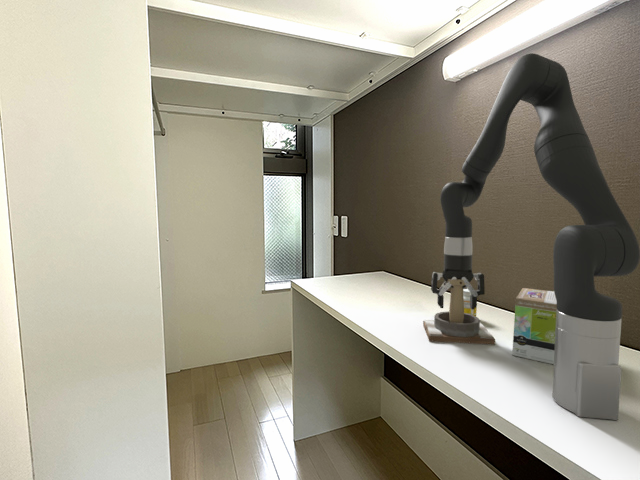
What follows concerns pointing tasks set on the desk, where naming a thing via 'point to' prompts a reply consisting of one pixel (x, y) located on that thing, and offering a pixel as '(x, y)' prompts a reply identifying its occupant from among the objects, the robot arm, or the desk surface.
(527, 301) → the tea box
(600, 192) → the robot arm
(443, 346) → the desk surface
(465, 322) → the ring socket base
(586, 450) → the desk surface
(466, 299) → the supplement bottle
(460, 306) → the handle
